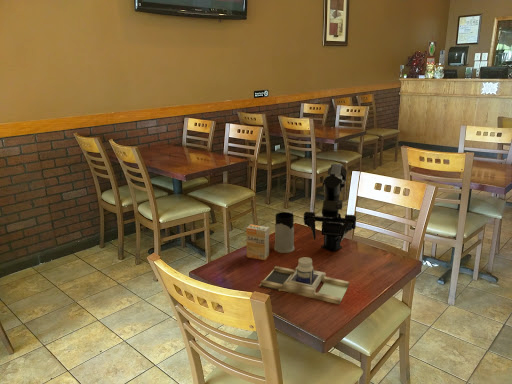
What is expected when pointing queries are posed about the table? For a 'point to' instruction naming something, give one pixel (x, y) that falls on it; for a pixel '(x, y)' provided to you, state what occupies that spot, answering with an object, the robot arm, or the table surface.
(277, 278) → the tray
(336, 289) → the pad
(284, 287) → the oak channel
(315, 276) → the collar carriage
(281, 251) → the glass holder
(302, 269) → the pill bottle
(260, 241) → the supplement box
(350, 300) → the table surface
